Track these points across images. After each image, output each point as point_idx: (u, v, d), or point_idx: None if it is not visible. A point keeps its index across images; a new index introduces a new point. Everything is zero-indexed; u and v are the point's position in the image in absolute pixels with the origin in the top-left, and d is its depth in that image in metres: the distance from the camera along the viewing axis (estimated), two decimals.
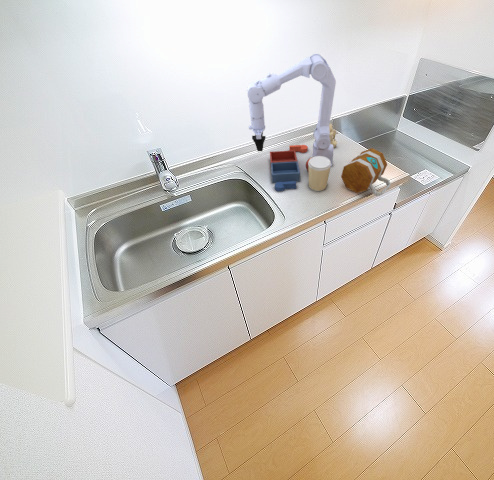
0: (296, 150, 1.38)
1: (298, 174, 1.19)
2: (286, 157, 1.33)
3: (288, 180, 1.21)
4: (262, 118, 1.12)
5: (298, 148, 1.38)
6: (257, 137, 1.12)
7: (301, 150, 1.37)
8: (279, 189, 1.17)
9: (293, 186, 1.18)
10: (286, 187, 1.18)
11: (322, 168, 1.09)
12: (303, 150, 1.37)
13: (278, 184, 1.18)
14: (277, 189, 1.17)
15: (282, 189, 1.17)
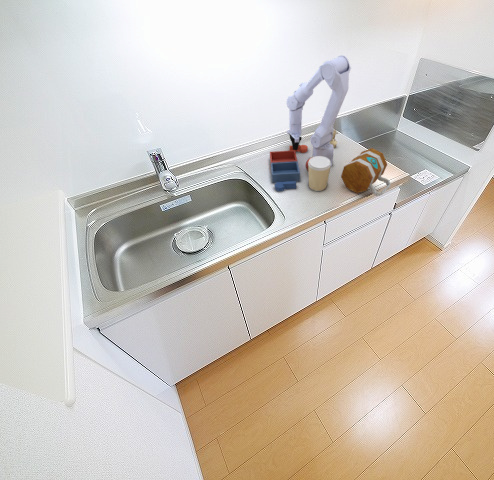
0: (296, 150, 1.38)
1: (298, 174, 1.19)
2: (286, 157, 1.33)
3: (288, 180, 1.21)
4: (300, 124, 1.27)
5: (298, 148, 1.38)
6: (295, 140, 1.27)
7: (301, 150, 1.37)
8: (279, 189, 1.17)
9: (293, 186, 1.18)
10: (286, 187, 1.18)
11: (322, 168, 1.09)
12: (303, 150, 1.37)
13: (278, 184, 1.18)
14: (277, 189, 1.17)
15: (282, 189, 1.17)
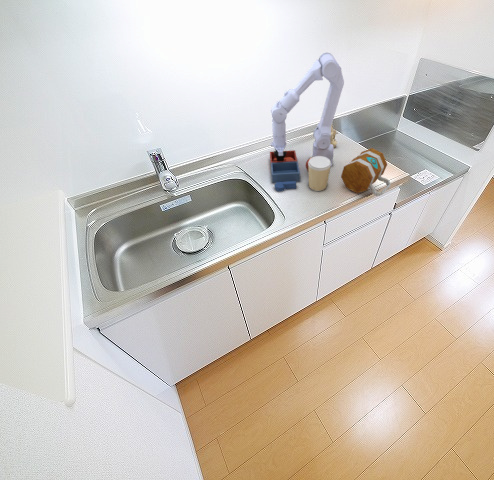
0: None
1: (298, 174, 1.19)
2: None
3: (288, 180, 1.21)
4: (284, 136, 1.19)
5: None
6: (279, 154, 1.19)
7: None
8: (279, 189, 1.17)
9: (293, 186, 1.18)
10: (286, 187, 1.18)
11: (322, 168, 1.09)
12: None
13: (278, 184, 1.18)
14: (277, 189, 1.17)
15: (282, 189, 1.17)
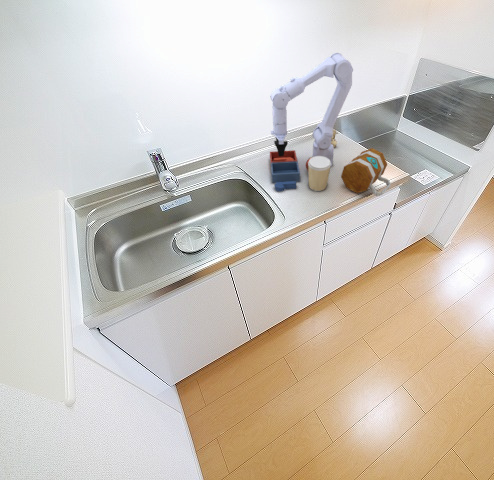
0: None
1: (298, 174, 1.19)
2: None
3: (288, 180, 1.21)
4: (285, 123, 1.13)
5: None
6: (280, 142, 1.13)
7: None
8: (279, 189, 1.17)
9: (293, 186, 1.18)
10: (286, 187, 1.18)
11: (322, 168, 1.09)
12: None
13: (278, 184, 1.18)
14: (277, 189, 1.17)
15: (282, 189, 1.17)
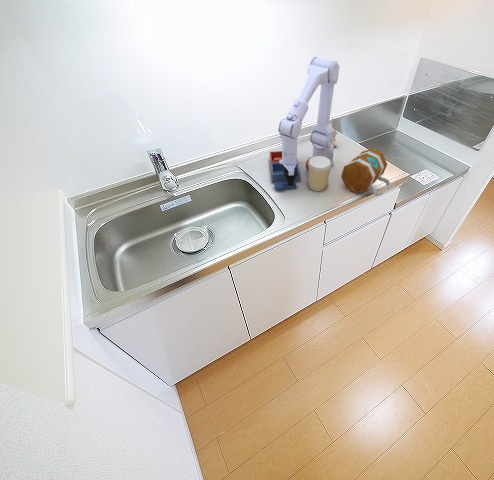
0: None
1: (298, 174, 1.19)
2: None
3: None
4: (295, 153, 1.05)
5: None
6: (290, 173, 1.05)
7: None
8: (279, 189, 1.17)
9: (293, 186, 1.18)
10: (286, 187, 1.18)
11: (322, 168, 1.09)
12: None
13: (278, 184, 1.18)
14: (277, 189, 1.17)
15: (282, 189, 1.17)
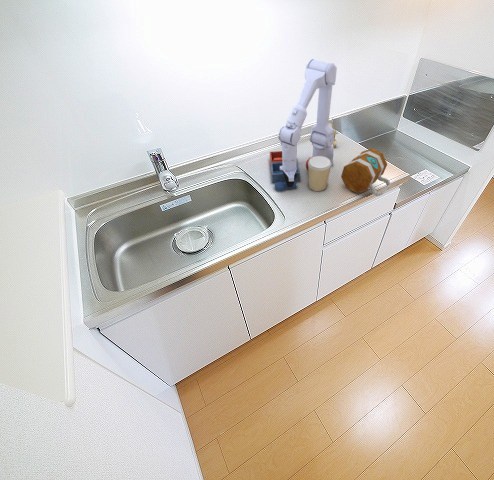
0: None
1: (298, 174, 1.19)
2: None
3: None
4: (295, 160, 1.07)
5: None
6: (290, 179, 1.07)
7: None
8: (279, 189, 1.17)
9: (293, 186, 1.18)
10: (286, 187, 1.18)
11: (322, 168, 1.09)
12: None
13: (278, 184, 1.18)
14: (277, 189, 1.17)
15: (282, 189, 1.17)
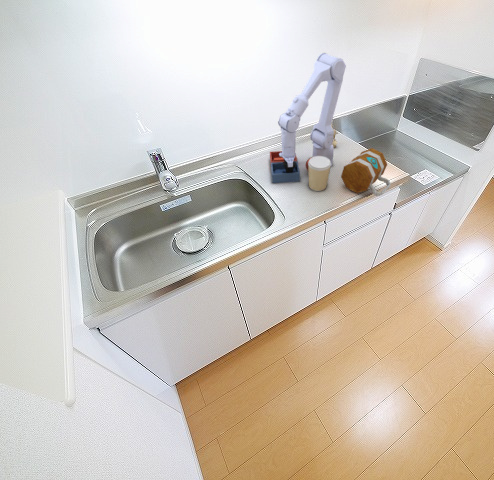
0: None
1: (298, 174, 1.19)
2: None
3: (288, 180, 1.21)
4: (294, 146, 1.12)
5: None
6: (289, 165, 1.13)
7: None
8: None
9: None
10: None
11: (322, 168, 1.09)
12: None
13: (278, 171, 1.23)
14: None
15: None
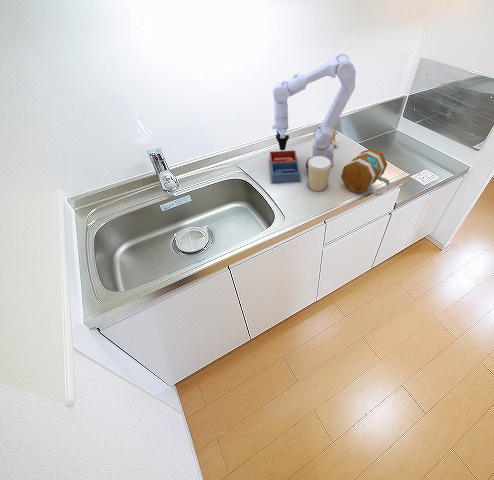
0: None
1: (298, 174, 1.19)
2: None
3: (288, 180, 1.21)
4: (286, 117, 1.14)
5: None
6: (281, 136, 1.14)
7: None
8: None
9: None
10: None
11: (322, 168, 1.09)
12: None
13: (278, 171, 1.23)
14: None
15: None
